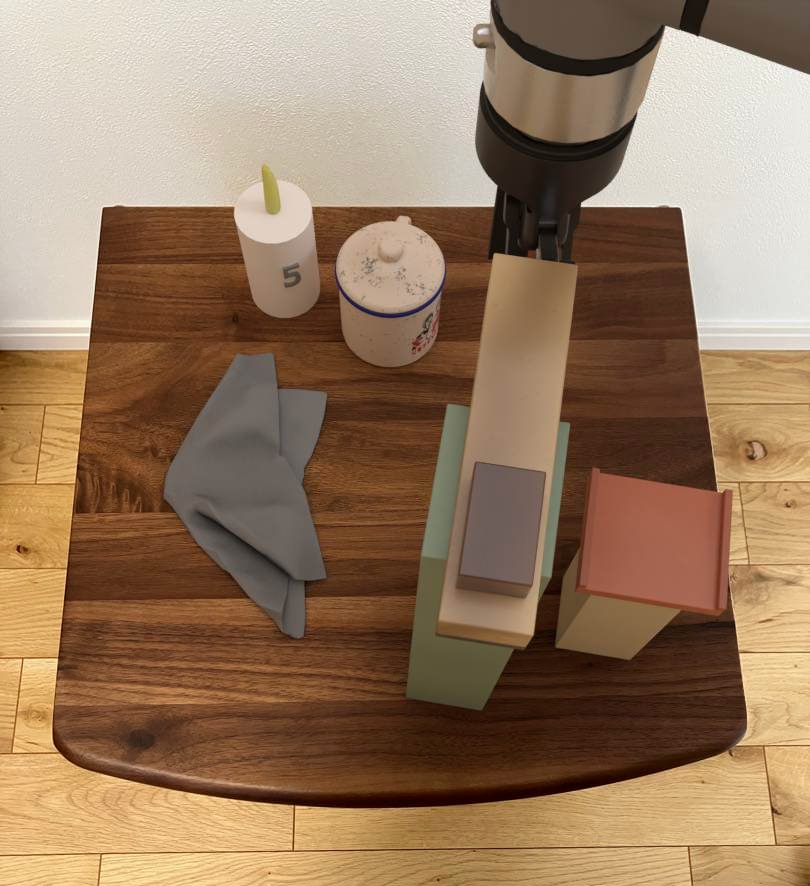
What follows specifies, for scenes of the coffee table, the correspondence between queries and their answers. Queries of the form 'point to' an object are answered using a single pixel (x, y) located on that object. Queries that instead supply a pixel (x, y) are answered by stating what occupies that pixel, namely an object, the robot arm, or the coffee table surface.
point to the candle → (278, 246)
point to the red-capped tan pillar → (643, 563)
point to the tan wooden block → (508, 455)
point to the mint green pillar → (436, 658)
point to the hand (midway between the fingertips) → (509, 339)
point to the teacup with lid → (390, 292)
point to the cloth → (253, 486)
